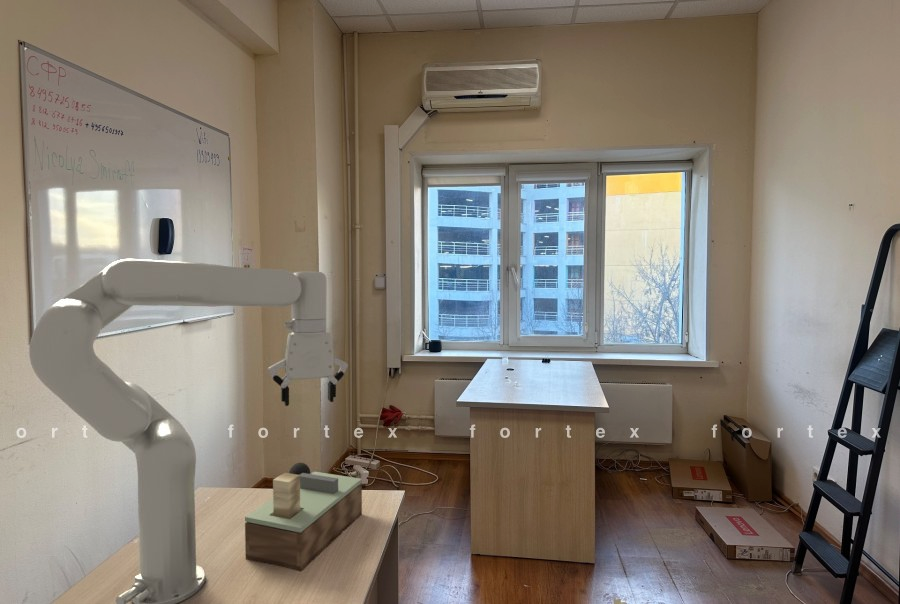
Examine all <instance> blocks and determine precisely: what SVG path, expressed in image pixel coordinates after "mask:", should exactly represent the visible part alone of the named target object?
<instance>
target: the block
mask: <svg viewBox="0 0 900 604" xmlns="http://www.w3.org/2000/svg"><path fill="white" fill-rule="evenodd" d="M272 490H273V491H272V492H273V493H272V497H273V498H272V499H273V513H274V516H275V517H281V518H286V519H291V518H292V517H294V516H295V515H296V514H298V513H299V512H300V475H296V474H290V473H289V472H284V473H282V474H280V475H278V476H277V477H275V478H273V479H272Z"/></svg>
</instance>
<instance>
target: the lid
mask: <svg viewBox="0 0 900 604" xmlns="http://www.w3.org/2000/svg"><path fill="white" fill-rule="evenodd" d="M362 482H363V480H362V478H359V477H352V476H346V475H345V476H344V475H340V474H333V473H327V472H326V473H325V472H320V471H312V472H310V474H307V473H302V474H300V512H299V513H298V514H296V515H295V516H294V517H292V518H291V519H286V518H281V517H275V516H274V513H273V498H271V499H270V500H268V501H267V502H265V503H264V504H262V505H261V506H259V507H258V508H256V509H255V510H253V511H252V512H250V513H248V514H247V515H246V516H244V521H245V522H250V523H255V524H260V525H265V526H270V527H275V528H280V529H285V530H290V531H295V532H300V533H301V532H302V531H303V530H305V529H306V528H307V527H308V526H309V525H311V524H312V523H313V522H314V521H316V520H317V519H318V518H319V517H320V516H322V515H323V514H324V513H325V512H327V511H328V510H329V509H330V508H331V507H333V506H334V505H335V504H336V503H338V502H339V501H340V500H341V499H342V498H344V497H345V496H346V495H347V494H348V493H350V492H351V491H352V490H353V489H355V488H356V487H357V486H358V485H359V484H363V483H362ZM245 522H244V523H245Z"/></svg>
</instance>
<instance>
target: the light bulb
mask: <svg viewBox="0 0 900 604" xmlns="http://www.w3.org/2000/svg"><path fill="white" fill-rule="evenodd" d="M288 473H290V474H296V475H300V474H302V473H307V474H311V469H310V467H309V465H308V464H306V463H305V462H296V463H295V464H293V465H291V467H290V469H289V472H288Z"/></svg>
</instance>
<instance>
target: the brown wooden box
mask: <svg viewBox="0 0 900 604" xmlns="http://www.w3.org/2000/svg"><path fill="white" fill-rule="evenodd" d="M362 484H363V483H361V484H359V485H358V486H357V487H356V488H355V489H353V490H352V491H351V492H350V493H348V494H347V495H346V496H345V497H344V498H342V499H341V500H340V501H339V502H338V503H336V504H335V505H334V506H333V507H331V508H330V509H329V510H328V511H327V512H325V513H324V514H323V515H322V516H320V517H319V518H318V519H317V520H316V521H314V522H313V523H312V524H311V525H309V526H308V527H307V528H306V529H305V530H303V531H302V532H301V533H300V532H295V531H290V530H285V529H280V528H275V527H270V526H265V525H260V524H255V523H250V522H244V534H245V535H244V536H245V537H244V539H245V546H244V547H245V560H249V561H254V562H258V563H263V564H267V565H271V566H275V567H280V568H283V569H288V570H291V571H297V572H302V571H304V570H305V569H306V567H308V565H310V564H311V563H312V562H313V561H314V560H316V558H317V557H319V555H320V554H321V553H323V552H324V551H325V549H327V548H328V547H329V546H330V545H331V544H332V543H333V542H334V541H335V540H337V538H338V537H339V536H340V535H341V534H343V533H342V532H343V531H344V530H345V529H346V530H347V529H348V528H349V527H351V526H352V524H353V523H355V521H356V520H358V519H359V517H360V516H362V514H363V506H362V505H363V500H362V499H363V485H362ZM346 530H345V531H346Z"/></svg>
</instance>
